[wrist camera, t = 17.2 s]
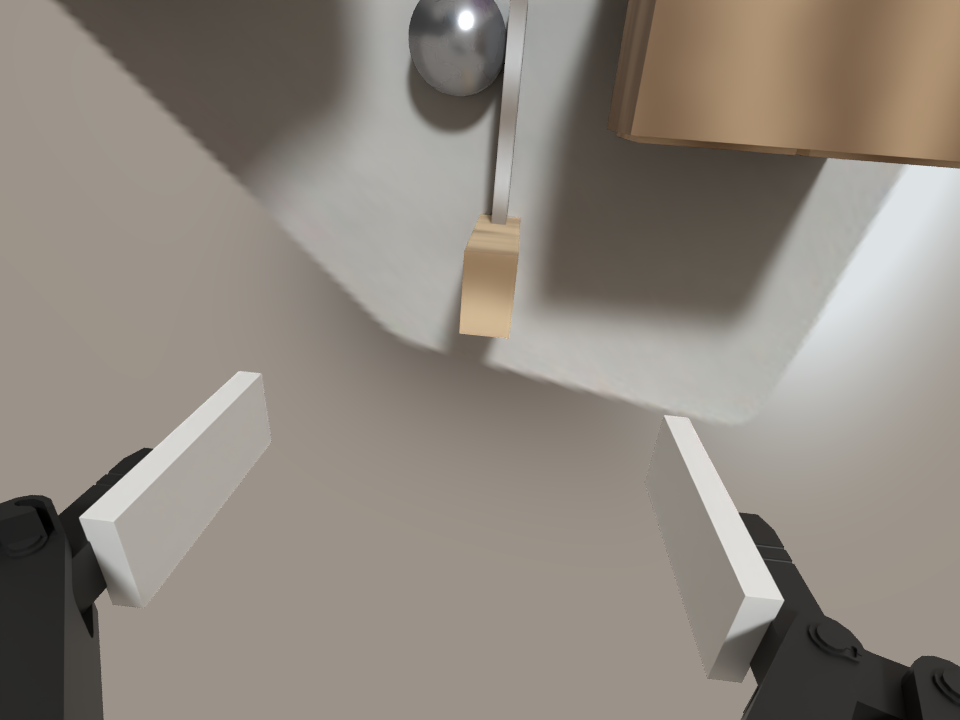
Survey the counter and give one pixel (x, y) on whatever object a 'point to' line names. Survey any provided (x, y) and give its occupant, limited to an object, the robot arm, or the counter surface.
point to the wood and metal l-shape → (497, 213)
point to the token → (458, 44)
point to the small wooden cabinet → (793, 78)
